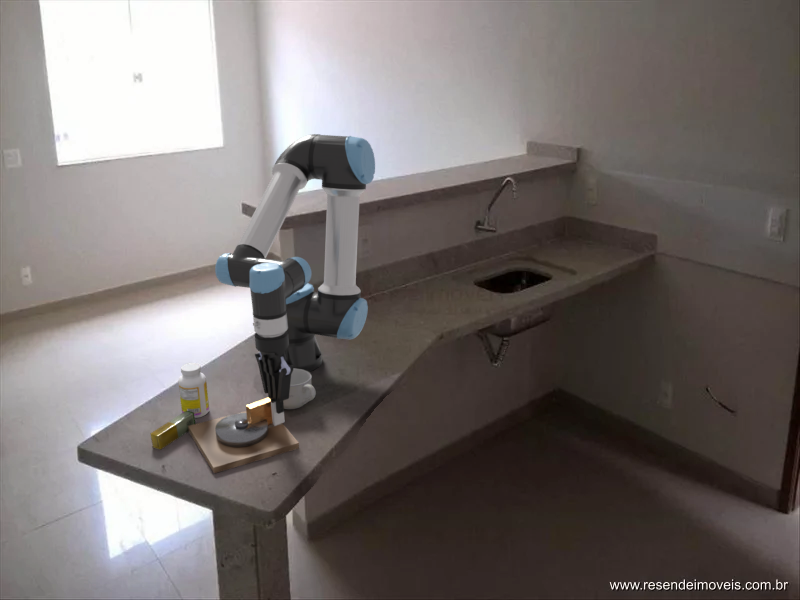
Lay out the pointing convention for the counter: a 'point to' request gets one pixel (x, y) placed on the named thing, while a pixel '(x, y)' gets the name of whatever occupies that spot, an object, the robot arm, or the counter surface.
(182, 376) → the supplement bottle
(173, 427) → the medication box
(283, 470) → the counter surface
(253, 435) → the dial
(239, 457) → the board
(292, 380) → the teacup
